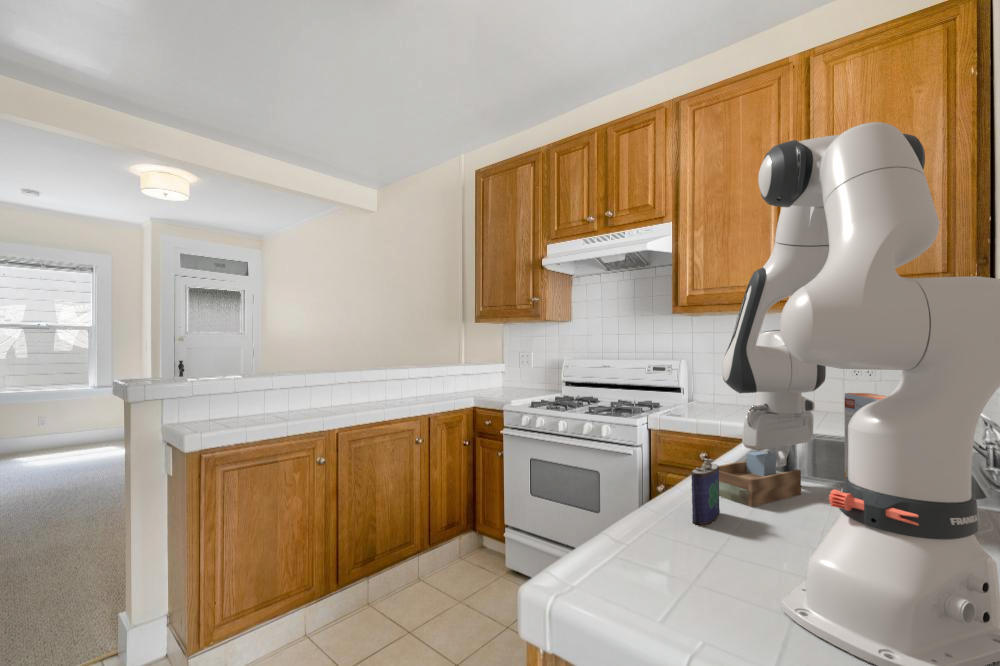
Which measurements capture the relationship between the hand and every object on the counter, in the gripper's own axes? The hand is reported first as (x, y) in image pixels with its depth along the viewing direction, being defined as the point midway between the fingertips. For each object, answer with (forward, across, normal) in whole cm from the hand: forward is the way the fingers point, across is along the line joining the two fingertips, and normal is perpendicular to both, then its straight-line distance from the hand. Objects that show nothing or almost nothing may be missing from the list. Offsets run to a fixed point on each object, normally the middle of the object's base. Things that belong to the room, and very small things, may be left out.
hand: (778, 465), depth 104 cm
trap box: (+4, -11, -2) cm, 12 cm away
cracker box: (+4, +5, -17) cm, 18 cm away
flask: (+4, -32, -7) cm, 33 cm away
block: (+1, -6, 0) cm, 6 cm away
